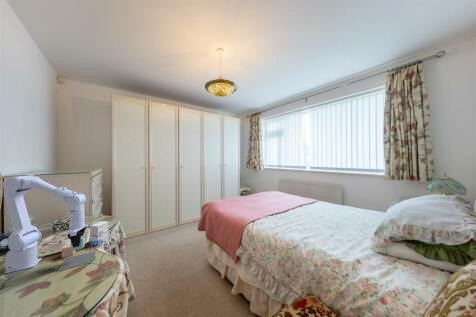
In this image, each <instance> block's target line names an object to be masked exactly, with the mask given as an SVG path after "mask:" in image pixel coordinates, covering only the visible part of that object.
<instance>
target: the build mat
mask: <svg viewBox="0 0 476 317" xmlns="http://www.w3.org/2000/svg"><path fill="white" fill-rule="evenodd" d="M95 254H96V251H91V252H87V253H84V254H78V255H73V256H69V257H65V259H64V261H63V262H62V264H61V265H60V266H59V268H58V270H57V272H59V271H60V272H61V271H64V270H68V269H72V268H76V267H80V266H85V265H89V264H91V263H92V262H93V258H94V256H95Z"/></svg>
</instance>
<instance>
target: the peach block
mask: <svg viewBox="0 0 476 317" xmlns="http://www.w3.org/2000/svg"><path fill="white" fill-rule="evenodd" d="M76 251H77V250H73V251H71V243H68V244H64V245H63V246H62V247H61V259H64V258H69V257H73V256H75V254H76Z"/></svg>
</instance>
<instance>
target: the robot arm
mask: <svg viewBox="0 0 476 317" xmlns="http://www.w3.org/2000/svg"><path fill="white" fill-rule="evenodd" d="M1 184H2V187H3V198H4V201H5V204H6V208H7V212H8V215H9V218H10V222H11V226H12V229H13V231H12V232H11V233H10V235H9V236H8V244H7V245H8V249H9V251H7V253H6V255H5V257H4V258H5V259H4V261H5V262H4V263H5V264H4V266H5V271H4V274H8V273H12V272H17V271H22V270H26V269H30V268H34V267H36V265H37V264H38V263H40V261H41V260H42V257H39V258H38V244H39V241H40V240H42V233H41V231H39V229H38V226H33V225H32V223H31V220H30V216H29V213H28V209H27V206H26V202H25V198H24V196H25V194H26V193H27V192H28V191H30V190H31V189H33V188H34V189H37V190H39V191H42V192H45V193H47V194H51V196H52V198H54V199H56V200H58V201H61V202H63V203H65V205H66V207H67V210H68V217H69V218H68V220H69V225H68V226H69V228H68V231H69V233H68V234H67V238H68V239H69V240H70V244H71V243H72V245H73V248H74V247H79V245H80V239H81V236H84V234H85V231H86V229H87V227H88V226H89V224H86V222H85V217H86V216H85V203H86V202H87V199H88V198H87V196H86V194H85V193H83V192H79V193H77V192H76V191H73V190H70V189H68V187H66V186H64V187H63V186H61V187H56V186H55V185H53V184H51V183H48V182H46V181H44V180H43V179H42V178H41V177H39V176H36V175H34V174H29V175H21V176H20V175H19V176H10V177H8V178H6V179H5V180H4V181H3V182H2V183H1Z"/></svg>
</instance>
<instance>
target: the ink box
mask: <svg viewBox="0 0 476 317" xmlns="http://www.w3.org/2000/svg"><path fill="white" fill-rule="evenodd" d="M107 240H109V220H106V221H105V220H101V221H98V222H95V223H93V224H91V225H90V227H89V246H99V245H101V244H103V243H104V242H106V241H107Z"/></svg>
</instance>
